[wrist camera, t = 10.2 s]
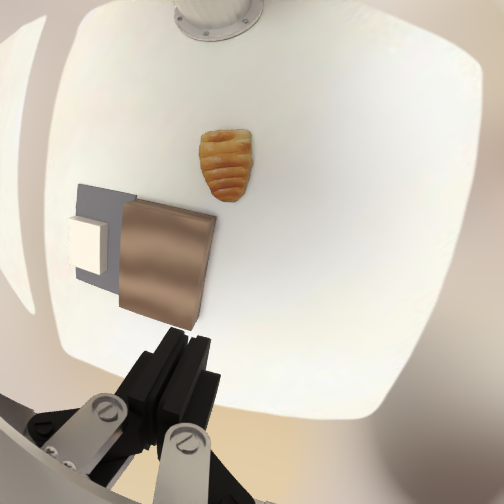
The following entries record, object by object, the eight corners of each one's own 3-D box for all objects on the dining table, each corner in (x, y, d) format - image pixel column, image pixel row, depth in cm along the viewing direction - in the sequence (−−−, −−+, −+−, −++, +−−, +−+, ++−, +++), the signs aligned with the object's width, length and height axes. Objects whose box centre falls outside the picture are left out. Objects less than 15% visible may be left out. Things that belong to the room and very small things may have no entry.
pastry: (256, 199, 35) (253, 203, 32) (206, 202, 36) (197, 207, 33) (251, 128, 33) (247, 123, 29) (200, 133, 33) (191, 130, 30)
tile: (100, 226, 36) (108, 223, 38) (68, 218, 36) (76, 215, 38) (99, 275, 39) (107, 270, 41) (69, 264, 39) (76, 259, 41)
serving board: (138, 199, 37) (123, 203, 33) (216, 216, 36) (208, 223, 33) (130, 295, 42) (119, 306, 38) (198, 317, 42) (191, 331, 38)
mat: (79, 183, 37) (77, 184, 37) (136, 195, 37) (135, 195, 36) (77, 277, 42) (76, 278, 42) (129, 297, 42) (128, 298, 42)
